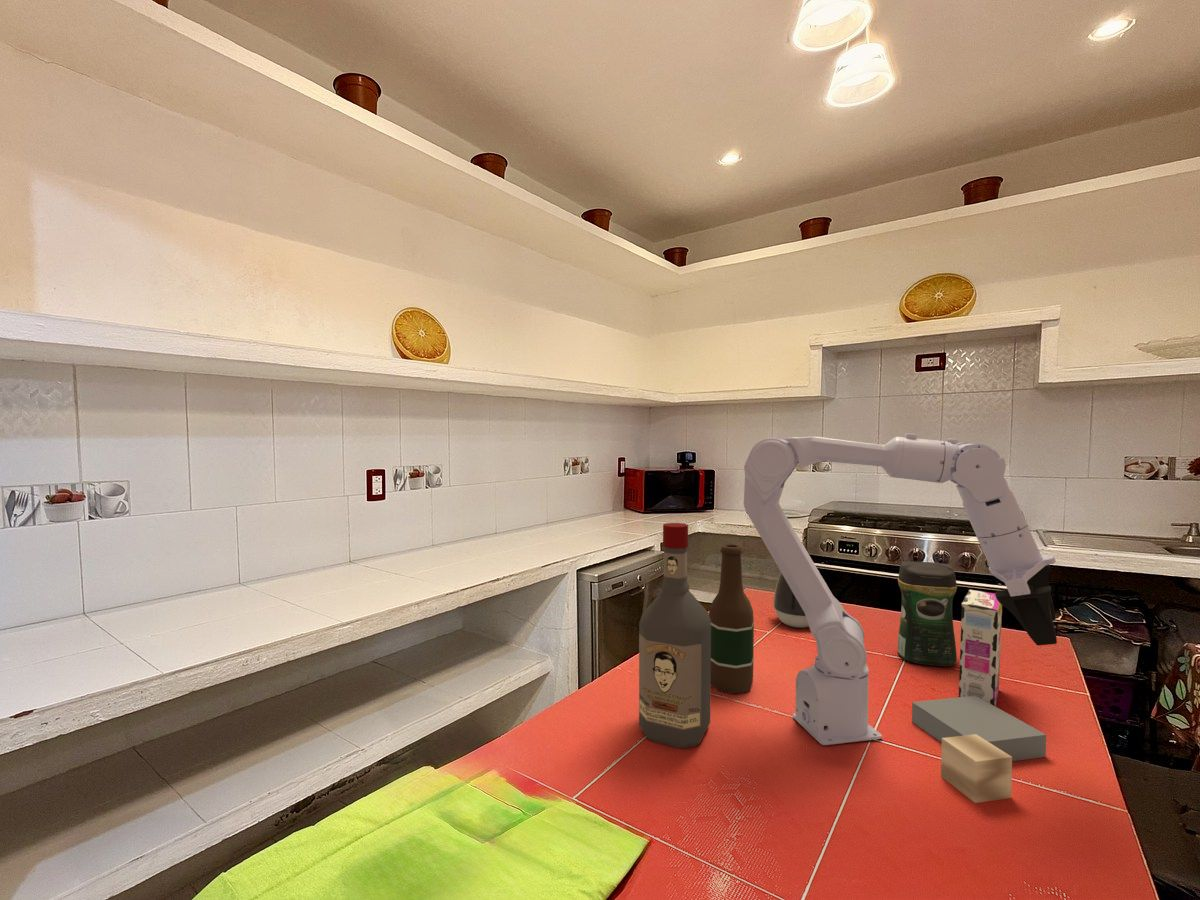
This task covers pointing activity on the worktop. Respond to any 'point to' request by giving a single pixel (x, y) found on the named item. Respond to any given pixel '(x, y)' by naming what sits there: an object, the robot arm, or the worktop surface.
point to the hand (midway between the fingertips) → (1046, 631)
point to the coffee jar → (927, 613)
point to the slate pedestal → (979, 725)
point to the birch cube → (976, 768)
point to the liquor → (675, 654)
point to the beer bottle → (731, 628)
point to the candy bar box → (980, 646)
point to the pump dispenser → (788, 605)
